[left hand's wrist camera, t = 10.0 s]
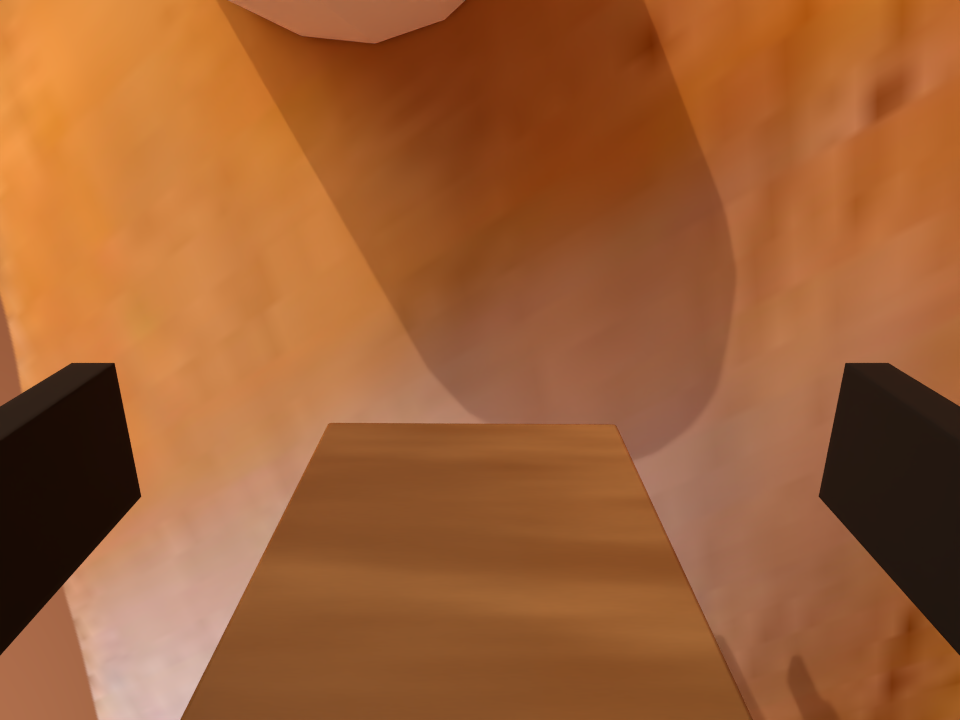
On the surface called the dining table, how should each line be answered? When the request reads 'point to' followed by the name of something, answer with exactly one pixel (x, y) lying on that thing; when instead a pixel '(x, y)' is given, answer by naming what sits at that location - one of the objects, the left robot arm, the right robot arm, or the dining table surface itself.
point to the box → (468, 588)
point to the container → (352, 16)
